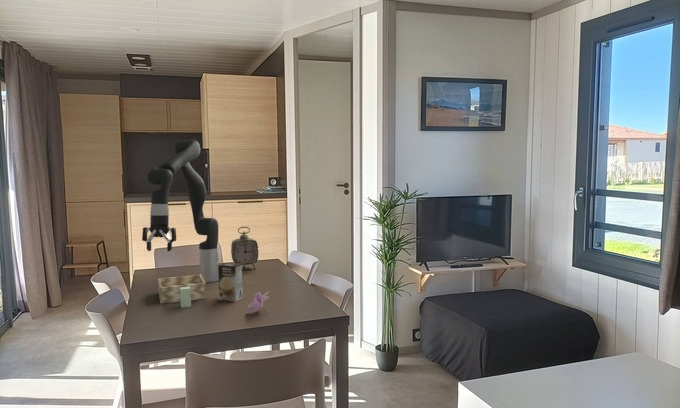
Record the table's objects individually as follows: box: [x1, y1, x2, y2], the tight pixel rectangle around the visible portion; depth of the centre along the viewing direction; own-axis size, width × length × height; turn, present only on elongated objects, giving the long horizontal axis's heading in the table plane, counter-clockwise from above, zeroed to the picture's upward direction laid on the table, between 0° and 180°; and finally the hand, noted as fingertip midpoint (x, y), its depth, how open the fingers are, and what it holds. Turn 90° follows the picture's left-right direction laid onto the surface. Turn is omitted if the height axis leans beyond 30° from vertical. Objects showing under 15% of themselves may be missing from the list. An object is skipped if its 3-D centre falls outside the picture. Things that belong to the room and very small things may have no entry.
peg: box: [179, 287, 192, 309], centre depth 221 cm, size 4×4×8 cm
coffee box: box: [218, 262, 243, 302], centre depth 230 cm, size 9×6×16 cm
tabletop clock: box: [230, 226, 259, 270], centre depth 295 cm, size 14×9×25 cm, turn 111°
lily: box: [245, 290, 270, 315], centre depth 208 cm, size 12×12×10 cm
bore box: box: [157, 274, 208, 304], centre depth 238 cm, size 20×20×7 cm
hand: (159, 251), depth 224 cm, fingers open, 8 cm apart
